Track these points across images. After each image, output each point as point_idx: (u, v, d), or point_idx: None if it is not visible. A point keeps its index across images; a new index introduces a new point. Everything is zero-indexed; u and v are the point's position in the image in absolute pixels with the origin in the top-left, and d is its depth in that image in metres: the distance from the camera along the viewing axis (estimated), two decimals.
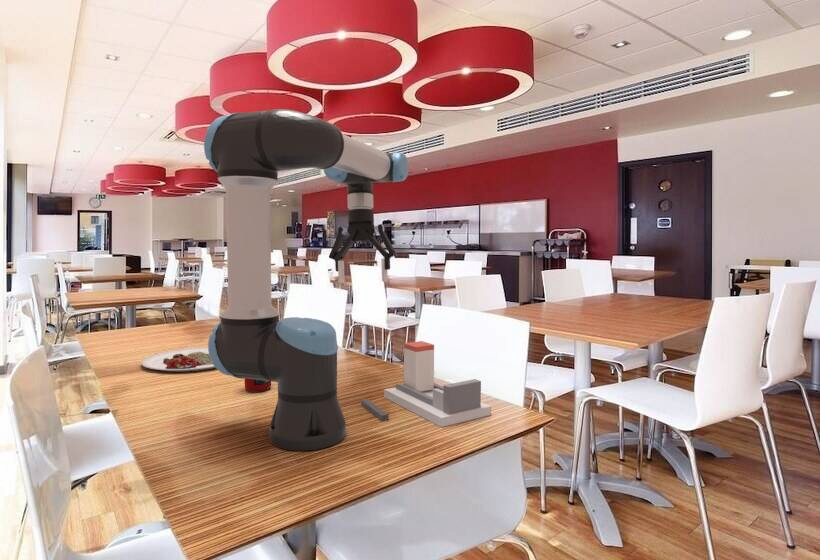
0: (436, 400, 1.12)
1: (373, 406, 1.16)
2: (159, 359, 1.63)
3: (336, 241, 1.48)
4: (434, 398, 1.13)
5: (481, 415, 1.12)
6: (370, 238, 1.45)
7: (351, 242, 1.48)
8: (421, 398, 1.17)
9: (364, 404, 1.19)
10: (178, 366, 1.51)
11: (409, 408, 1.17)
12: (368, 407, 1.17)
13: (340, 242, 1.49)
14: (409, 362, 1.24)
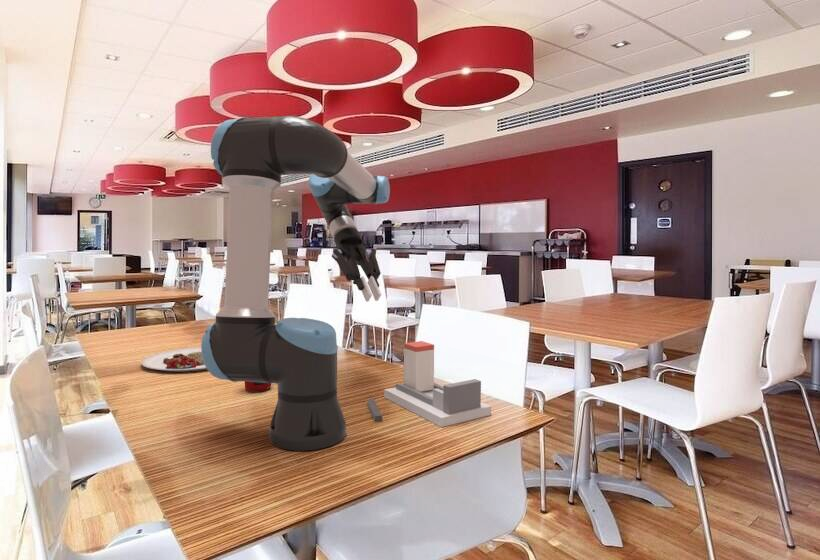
0: (436, 400, 1.12)
1: (374, 406, 1.16)
2: (159, 359, 1.63)
3: (343, 260, 1.37)
4: (434, 398, 1.13)
5: (481, 415, 1.12)
6: (364, 255, 1.41)
7: None
8: (421, 398, 1.17)
9: (368, 403, 1.19)
10: (178, 366, 1.51)
11: (409, 408, 1.17)
12: (369, 407, 1.17)
13: None
14: (409, 362, 1.24)
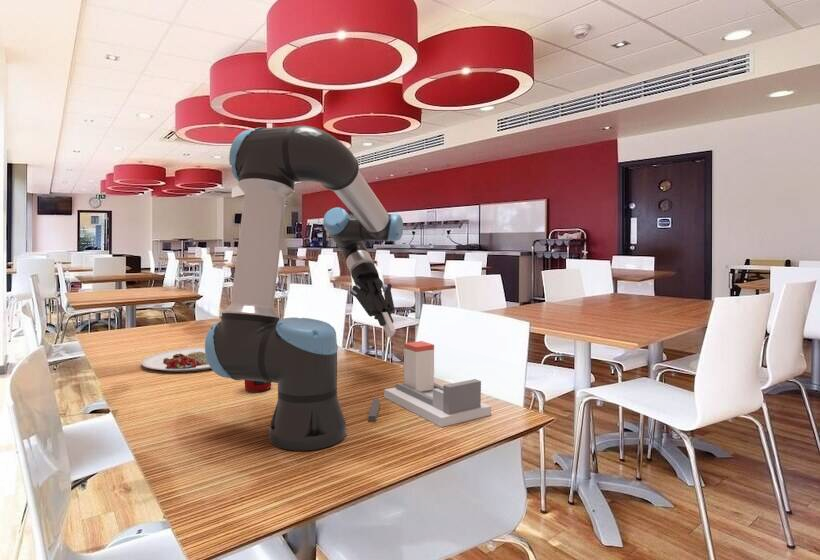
0: (436, 400, 1.12)
1: (375, 406, 1.16)
2: (159, 359, 1.63)
3: (363, 296, 1.40)
4: (434, 398, 1.13)
5: (481, 415, 1.12)
6: (380, 290, 1.44)
7: None
8: (421, 398, 1.17)
9: None
10: (178, 366, 1.51)
11: (409, 408, 1.17)
12: None
13: None
14: (409, 362, 1.24)
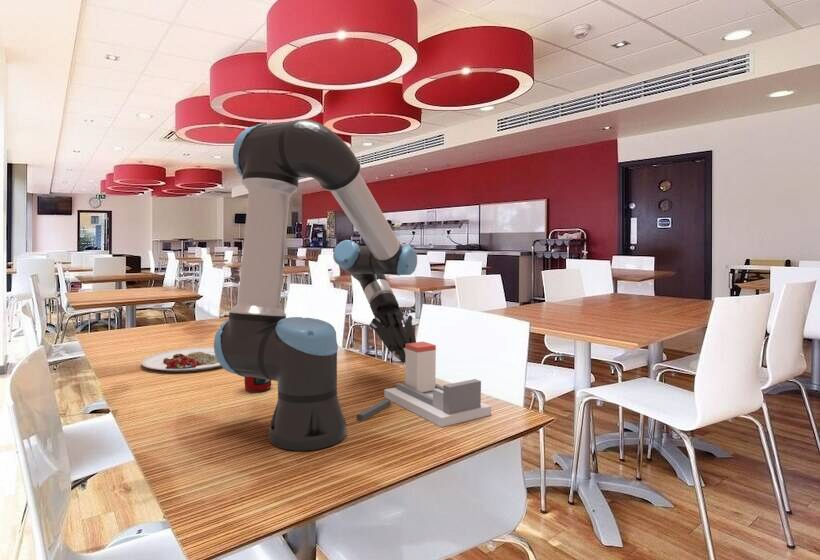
0: (436, 400, 1.12)
1: (376, 406, 1.16)
2: (159, 359, 1.63)
3: (383, 330, 1.32)
4: (434, 398, 1.13)
5: (481, 415, 1.12)
6: (401, 323, 1.36)
7: None
8: (421, 398, 1.17)
9: None
10: (178, 366, 1.51)
11: (409, 408, 1.17)
12: None
13: None
14: (410, 362, 1.23)
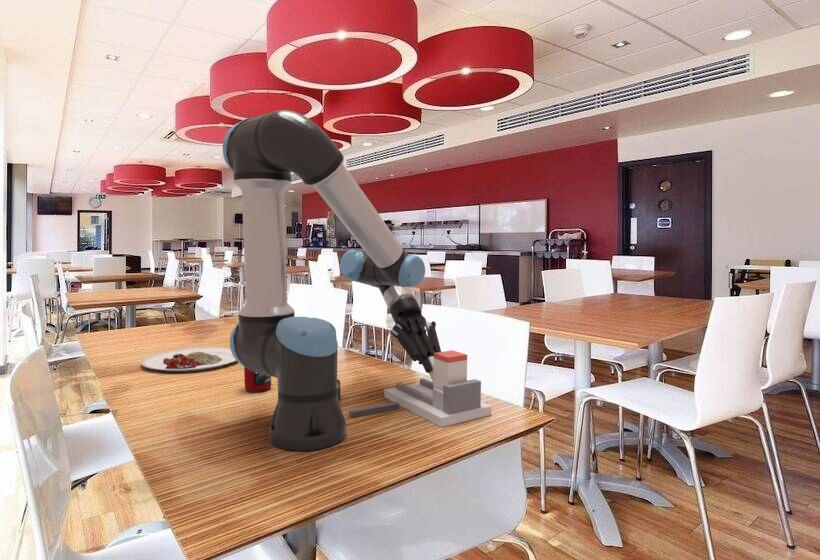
0: (436, 400, 1.12)
1: (376, 406, 1.16)
2: (159, 359, 1.63)
3: (406, 338, 1.22)
4: (434, 398, 1.13)
5: (481, 415, 1.12)
6: (424, 330, 1.25)
7: None
8: (421, 398, 1.17)
9: None
10: (178, 366, 1.51)
11: (409, 408, 1.17)
12: None
13: None
14: (440, 373, 1.13)
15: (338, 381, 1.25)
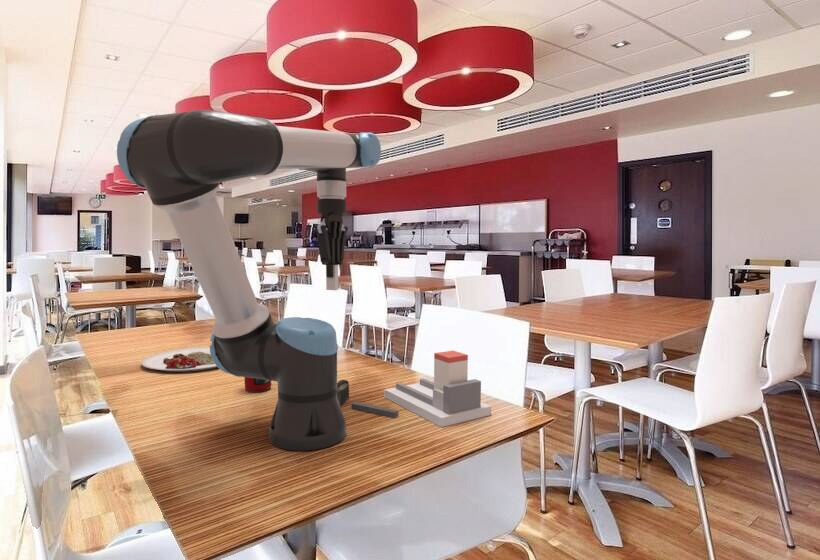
0: (436, 400, 1.12)
1: (375, 407, 1.15)
2: (159, 359, 1.63)
3: (327, 242, 1.26)
4: (434, 398, 1.13)
5: (481, 415, 1.12)
6: (340, 236, 1.31)
7: None
8: (421, 398, 1.17)
9: None
10: (178, 366, 1.51)
11: (409, 408, 1.17)
12: None
13: None
14: (440, 373, 1.13)
15: (345, 382, 1.23)
